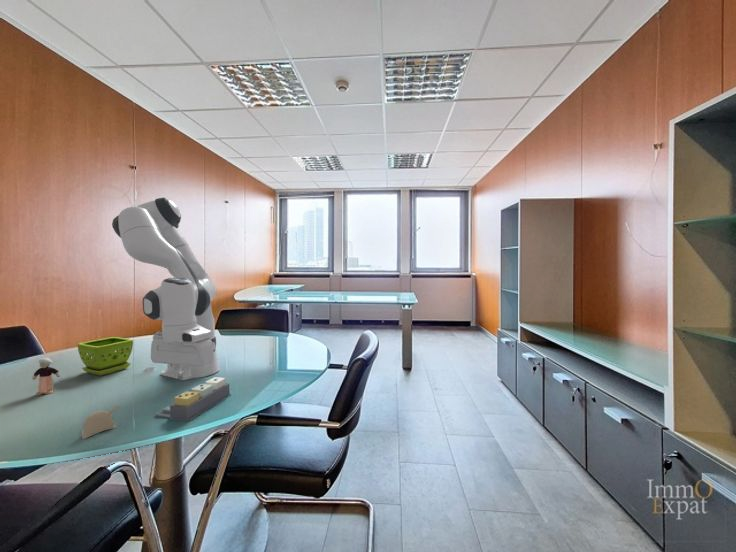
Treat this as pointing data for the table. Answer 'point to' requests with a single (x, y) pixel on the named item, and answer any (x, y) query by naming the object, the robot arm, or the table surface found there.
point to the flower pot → (105, 355)
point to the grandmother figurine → (45, 376)
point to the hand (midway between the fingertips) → (182, 378)
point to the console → (195, 406)
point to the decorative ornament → (98, 423)
